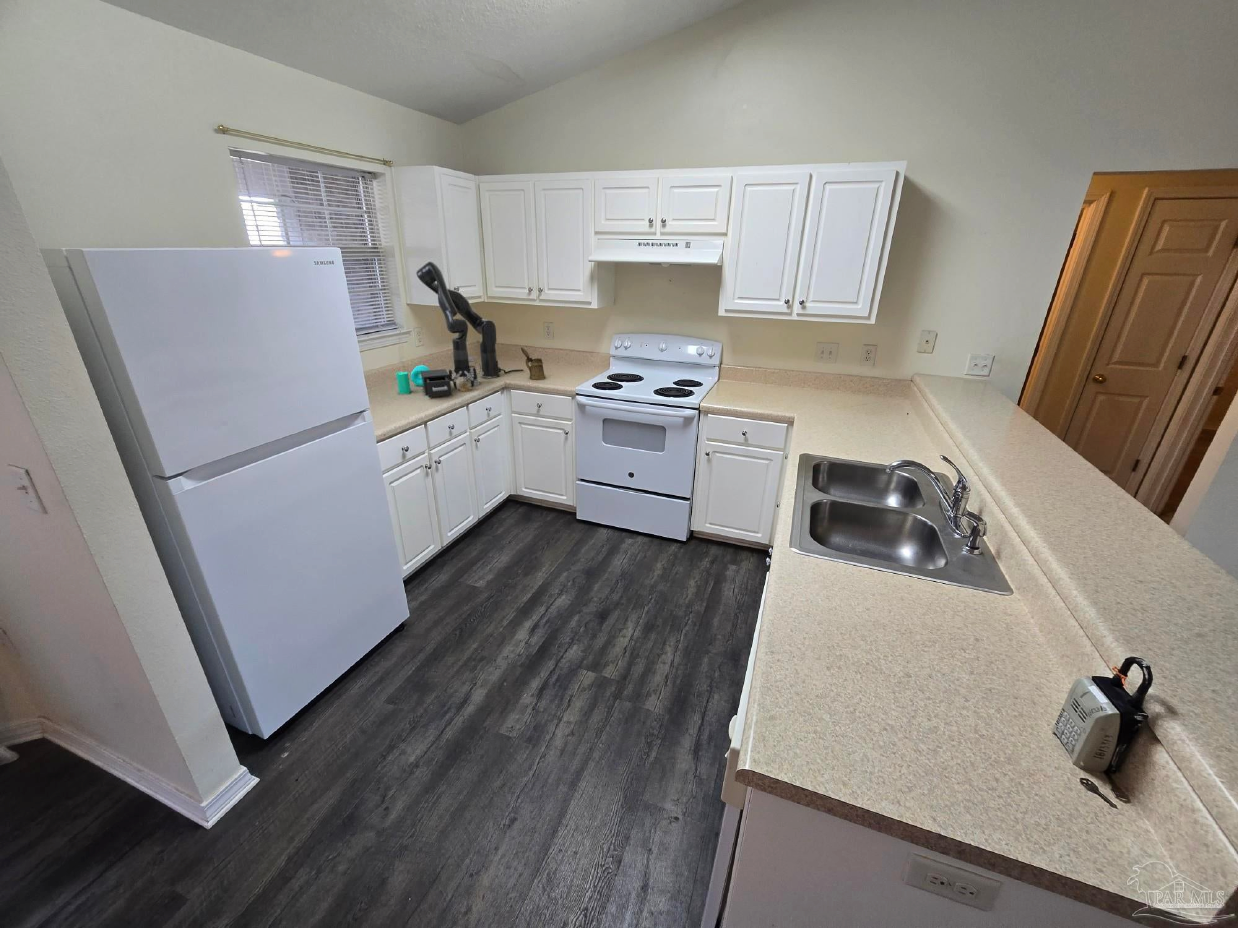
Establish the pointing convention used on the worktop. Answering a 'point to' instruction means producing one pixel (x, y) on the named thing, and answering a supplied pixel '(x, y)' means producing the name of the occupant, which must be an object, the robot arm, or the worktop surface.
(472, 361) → the french press
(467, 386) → the block
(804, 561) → the worktop surface
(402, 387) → the candle
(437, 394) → the drawer
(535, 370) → the wooden mug
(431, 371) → the box
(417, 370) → the donuts
